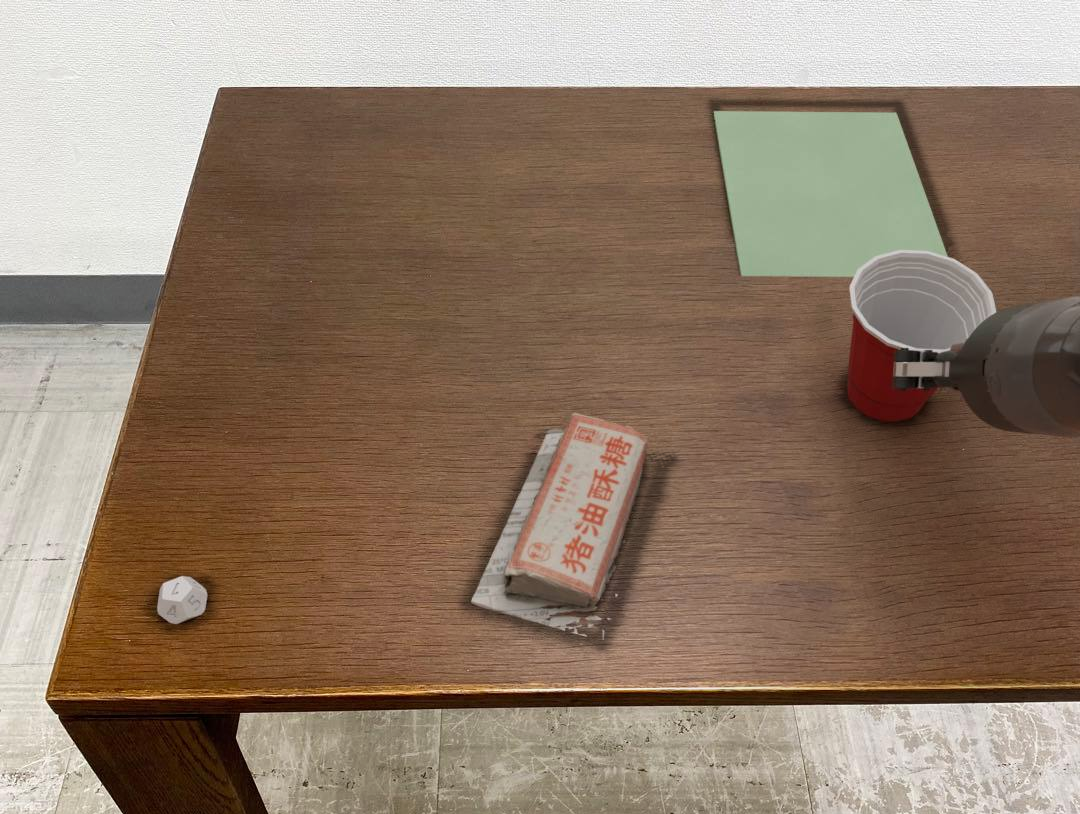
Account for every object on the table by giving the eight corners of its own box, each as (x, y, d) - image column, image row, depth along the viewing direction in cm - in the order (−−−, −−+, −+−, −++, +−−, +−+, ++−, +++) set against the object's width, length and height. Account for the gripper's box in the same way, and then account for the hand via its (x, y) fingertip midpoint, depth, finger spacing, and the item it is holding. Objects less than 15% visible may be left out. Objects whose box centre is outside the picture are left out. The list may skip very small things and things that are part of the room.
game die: (220, 594, 75) (209, 571, 73) (202, 637, 73) (190, 614, 71) (174, 588, 76) (162, 564, 73) (154, 630, 73) (141, 607, 71)
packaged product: (549, 396, 81) (672, 427, 79) (548, 438, 85) (666, 468, 83) (466, 576, 70) (606, 616, 69) (470, 614, 74) (602, 652, 73)
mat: (895, 115, 113) (896, 112, 113) (965, 312, 94) (966, 308, 94) (713, 114, 113) (713, 110, 113) (745, 310, 94) (746, 306, 94)
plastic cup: (808, 440, 85) (843, 329, 75) (822, 351, 91) (857, 238, 81) (943, 467, 83) (997, 357, 73) (948, 375, 89) (999, 263, 79)
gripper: (1181, 299, 57) (1033, 319, 74) (942, 298, 57) (849, 318, 74) (1168, 436, 58) (1025, 423, 75) (933, 434, 58) (843, 423, 75)
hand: (937, 371), depth 75 cm, fingers closed
